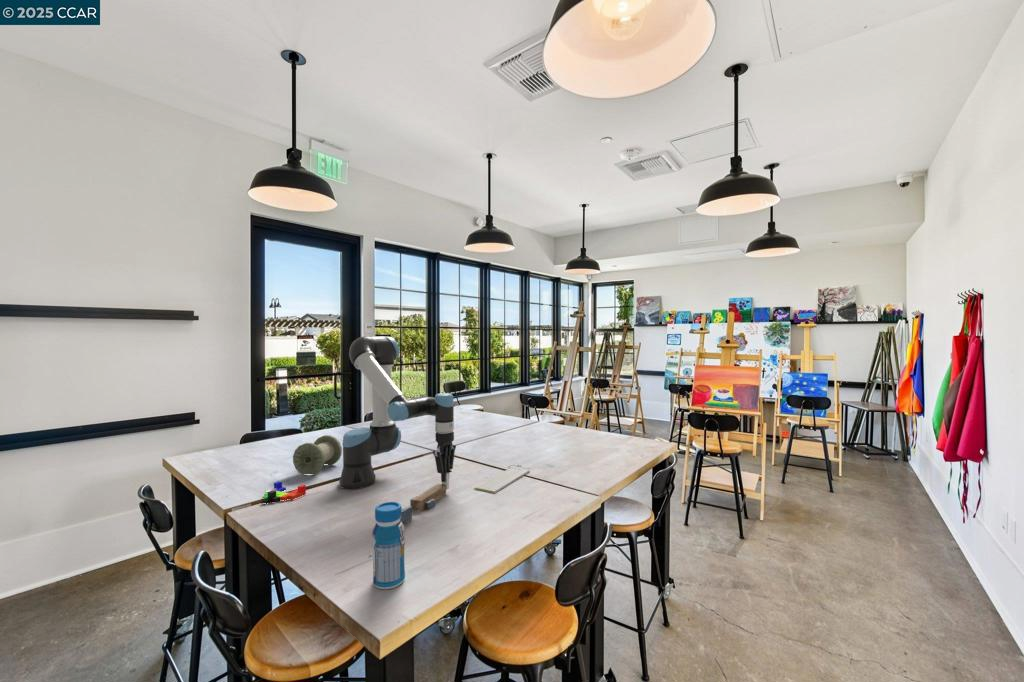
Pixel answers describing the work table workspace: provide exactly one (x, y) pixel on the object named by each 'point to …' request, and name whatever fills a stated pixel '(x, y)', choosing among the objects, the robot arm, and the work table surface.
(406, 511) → the end cap
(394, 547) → the beverage bottle
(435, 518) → the work table surface
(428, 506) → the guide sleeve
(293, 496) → the building blocks
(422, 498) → the brown wooden bar
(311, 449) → the spool
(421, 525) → the work table surface
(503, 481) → the baseboard
